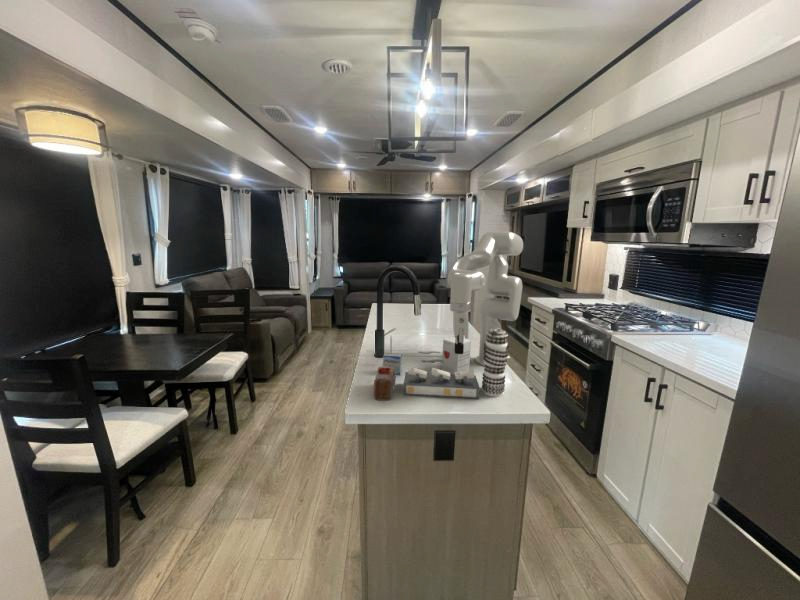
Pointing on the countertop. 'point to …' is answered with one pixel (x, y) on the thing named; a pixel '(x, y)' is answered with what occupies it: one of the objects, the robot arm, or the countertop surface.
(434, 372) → the rocker
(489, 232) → the robot arm
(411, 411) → the countertop surface
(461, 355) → the supplement box
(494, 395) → the decorative candle
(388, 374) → the food item
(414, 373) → the rocker
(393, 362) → the medicine box
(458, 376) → the rocker
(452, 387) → the switch unit
